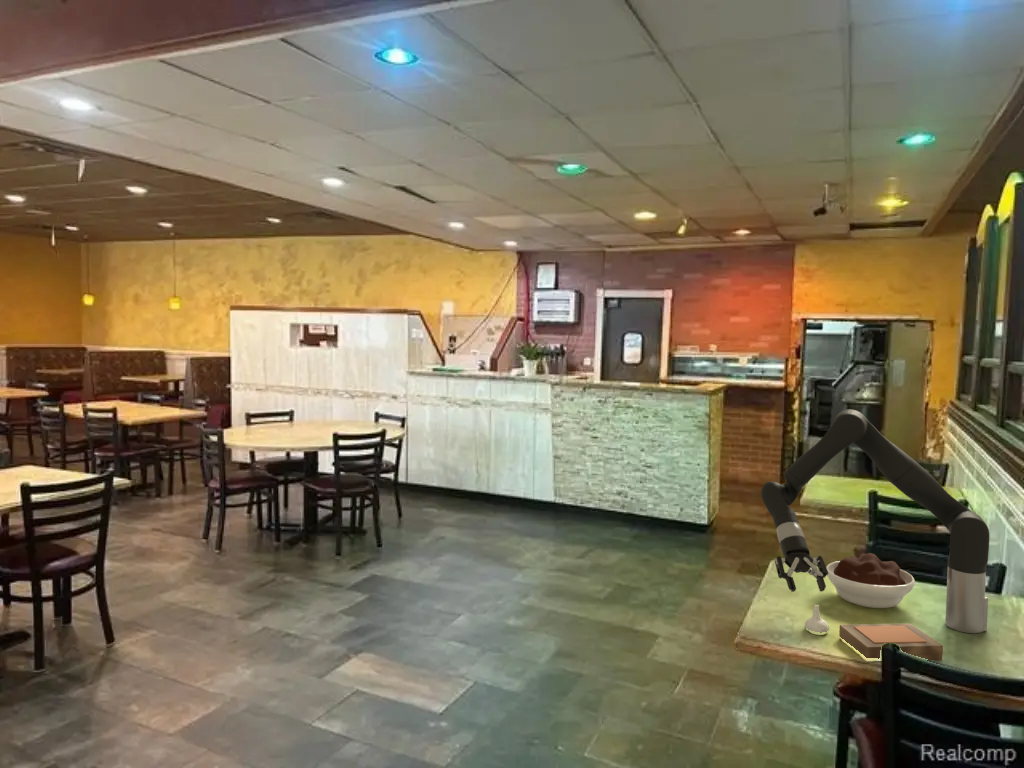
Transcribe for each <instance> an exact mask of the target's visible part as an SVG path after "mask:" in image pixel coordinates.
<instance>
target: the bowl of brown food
mask: <svg viewBox="0 0 1024 768" xmlns="http://www.w3.org/2000/svg"><path fill="white" fill-rule="evenodd" d="M826 568H827V570H828V574H827V575H826V577H827V578H828V580H829V581H830V583H832V585H833V586H834V588H835V590H836V593H837V594H838V596H839V597H840V598H842V599H843V600H845V601H846V602H849V603H851V604H855V605H857V606H859V607H860V606H862V607H866V608H871V609H889V608H890V609H891V608H894V607H897V606H898V605H900V604H901V602H902V601H903V599H904V597H905V596H907V595H908V594H909V593H910V592H911V591H912V590H913V589H914V586H915V583H916V581H915V578H914V577H913V575H912V574H911V573H909V572H907V571H905V570H904V569H901V567H900V566H899V565H898V564H897V562H896V561H893V560H889V561H882V560H881V559H879V557H878V556H877V555H876V554H875V553H872V552H868V553H864V552H863V553H861V554H860V555H859V558H858V557H854V556H853V555H852V556H846V557H844V558H843V559H841V560H839V561H838V560H837V561H833V562H830V563H829V564H827V565H826Z"/></svg>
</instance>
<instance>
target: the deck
mask: <svg viewBox="0 0 1024 768" xmlns="http://www.w3.org/2000/svg"><path fill="white" fill-rule="evenodd" d="M854 626H905V627H907V628H908V629H910V630H911V631H912V632H914V633H915V634H917V635H918V636H920V637H921V638H923V639H924V640H926V641H927V642H925V643H895V644H897V645H898V646H900V648H901V650H902V651H903V652H906V653H908V654H911V655H914V656H918V657H921V658H925V659H928V660H935V661H934V662H939V661H940V662H943V660H944V659H943V658H944V645H943V644H942V643H940V642H938V641H937V640H936V639H934V638H933V637H931V636H930V635H928V634H927V633H925V632H923V631H922V630H921V629H919V628H918V627H916V626H915V625H913V624H911V623H865V624H863V623H861V624H860V623H858V624H857V623H856V624H839V631H838V632H839V636H840V637H841V638H842V639H844V640H845V641H846V642H847V643H849V644H850V645H851V646H853V647H854V648H855V649H856V650H858V651H859V652H860V653H861V654H863V655H864V656H865V657H866V658H878V659H879V658H880V650H881V646H882V645H883V644H884V643H873V642H872V641H871V640H869V639H868V638H867V637H866V636H864V635H863V634H862V633H860V632H859V631H858V630H857V629H855V628H854ZM839 636H838V637H839Z"/></svg>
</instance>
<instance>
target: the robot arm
mask: <svg viewBox="0 0 1024 768" xmlns="http://www.w3.org/2000/svg"><path fill="white" fill-rule="evenodd" d="M853 444H854V445H855V446H856V447H858V448H859V449H860V450H861V451H863V452H864V453H865V454H866V455H867V456H868V458H870V459H871V461H872V462H873V464H874V465H875V466H876V468H877V469H878V470H879V471H880V473H881V474H882V475H883V476H884V477H885V478H886V480H888V481H889V482H890V483H891V484H892V485H893V486H894V487H896V489H898V490H899V491H900V492H901V493H902V494H903V495H905V496H906V497H908V498H910V500H912V501H914V502H915V503H916V504H919V505H920V506H922V507H923V508H925V509H926V510H927V511H929V512H930V513H931V515H934V516H935V518H937V519H938V521H939V522H940V523H941V524H942V525H943V526H944V527H945V528H946V529H947V531H948V532H949V533H950V537H949V538H950V543H949V553H948V557H947V575H946V579H947V580H946V596H945V597H946V598H945V599H946V600H945V625H946V626H947V627H949V629H953V630H954V631H955V630H956V631H958V632H962V633H967V634H981V633H983V632H986V631H987V630H988V612H989V611H988V610H989V609H988V608H989V598H988V597H987V596H986V579H987V577H986V575H987V565H988V563H989V562H988V561H989V552H990V528H989V526H988V525H987V523H986V522H985V521H984V519H983V518H982V517H981V516H980V515H979V514H977V513H975V512H974V511H972V510H971V509H970V508H968V507H967V506H965V505H964V504H963V503H961V502H960V501H958V500H957V499H956V498H954V497H953V496H952V495H951V494H950V493H948V491H947V490H946V489H944V487H943V486H942V485H941V484H940V482H938V481H937V479H935V478H934V477H933V476H932V475H931V474H930V473H929V471H927V470H926V469H925V468H924V467H923V466H921V464H919V463H918V462H917V461H916V460H914V458H913V457H911V456H909V454H907V453H906V452H905V451H903V450H902V449H901V448H899V447H898V446H897V445H896V444H894V443H893V442H891V441H890V440H889V439H888V438H887V437H885V436H884V435H883V434H882V433H881V432H880V431H879V430H878V429H877V428H876V427H875V426H874V425H873V424H872V423H871V422H870V421H869V419H867V417H866V416H865V415H864V414H863V413H862V412H860V411H858V410H855V409H851V408H849V409H843V410H842V411H840V412H839V413H838V414H836V416H835V417H834V420H833V421H832V425H831V426H830V427H829V429H828V430H827V431H826V433H825V434H824V435H823V437H822V438H821V439H820V440H819V441H818V442H817V443H815V445H813V446H812V447H811V448H810V449H808V450H807V451H806V452H805V453H803V454H801V456H799V457H798V458H797V459H796V460H795V461H794V462H793V463H792V464H791V465H790V466H789V467H787V469H786V470H785V471H784V473H783V478H784V480H785V483H784V484H781V483H779V482H776V481H772V480H771V481H766V482H765V483H764V484H763V485H762V487H761V491H760V495H761V499H762V502H763V504H764V505H765V507H766V510H767V512H768V513H769V515H770V516H771V518H772V520H773V523H774V526H775V530H776V535H777V539H778V542H779V545H780V549H781V552H782V556H783V557H781V556H780V555H779V556H777V557H776V558H775V560H774V563H775V568H776V573H777V578H779V579H784V580H785V581H786V584H787V587H788V589H789V591H791V593H793V592H795V591H796V590H797V586H796V583H795V581H794V577H793V573H794V572H795V574H797V573H803V574H805V573H808V574H809V575H810V576H813V577H814V578H815V579H816V580H815V581H816V583H817V587H818V589H819V592H825V590H826V588H827V585H826V582H825V580H824V579H825V578H826V577H827V574H828V570H827V568H826V567H827V565H826V564H825V561H824V559H823V557H822V556H821V555H818V556H817V557H813V556H811V553H810V548H809V547H808V543H807V540H806V538H805V533H804V531H803V528H802V527H801V526H800V522H799V520H798V516H797V513H796V512H795V510H794V509H793V508H792V507H790V506H791V505H793V504H794V502H795V501H796V499H797V498H798V496H799V494H800V493H801V491H802V489H803V487H804V486H805V485H806V484H807V483H808V482H810V481H811V480H812V479H813V478H814V477H815V476H816V475H817V474H818V473H819V472H820V471H821V470H822V469H823V468H824V467H825V466H826V465H827V464H828V463H829V462H830V461H831V460H832V459H833V458H835V457H836V456H837V455H838V454H839V453H841V452H842V451H843V450H845V449H846V448H849V446H851V445H853ZM784 564H785V565H786V566H787V567H788V570H787V572H785V568H784Z"/></svg>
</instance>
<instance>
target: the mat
mask: <svg viewBox="0 0 1024 768" xmlns="http://www.w3.org/2000/svg"><path fill="white" fill-rule="evenodd" d="M854 628H855V629H857V630H858V631H859V632H860V633H862V634H863V635H864V636H866V637H867V638H868V639H869V640H871V641H872V642H873V643H888V642H889V643H925V642H927V641H926V640H924V639H923V638H921V637H920V636H918V635H917V634H915V633H914V632H912V631H911V630H910V629H908V628H907V627H905V626H854Z"/></svg>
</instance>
